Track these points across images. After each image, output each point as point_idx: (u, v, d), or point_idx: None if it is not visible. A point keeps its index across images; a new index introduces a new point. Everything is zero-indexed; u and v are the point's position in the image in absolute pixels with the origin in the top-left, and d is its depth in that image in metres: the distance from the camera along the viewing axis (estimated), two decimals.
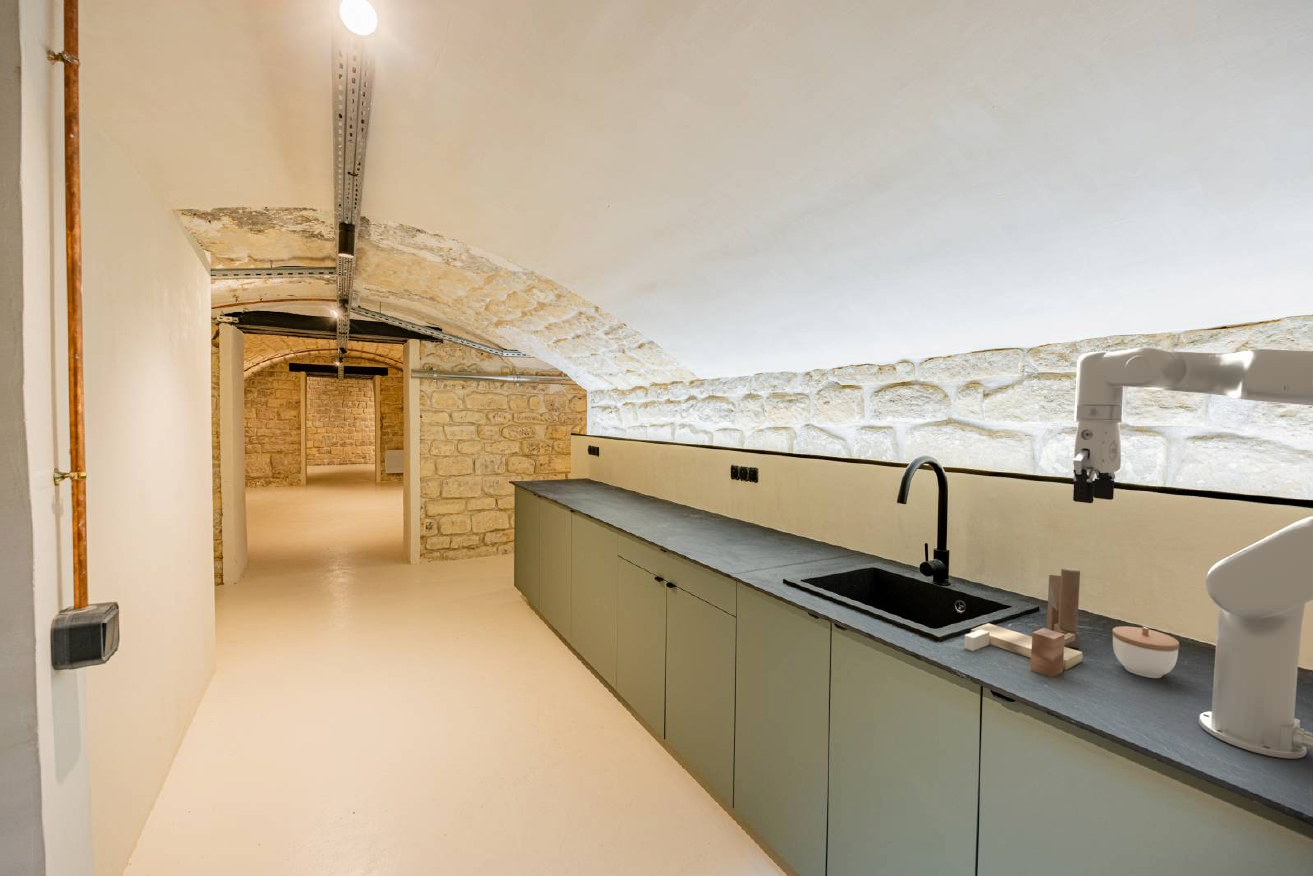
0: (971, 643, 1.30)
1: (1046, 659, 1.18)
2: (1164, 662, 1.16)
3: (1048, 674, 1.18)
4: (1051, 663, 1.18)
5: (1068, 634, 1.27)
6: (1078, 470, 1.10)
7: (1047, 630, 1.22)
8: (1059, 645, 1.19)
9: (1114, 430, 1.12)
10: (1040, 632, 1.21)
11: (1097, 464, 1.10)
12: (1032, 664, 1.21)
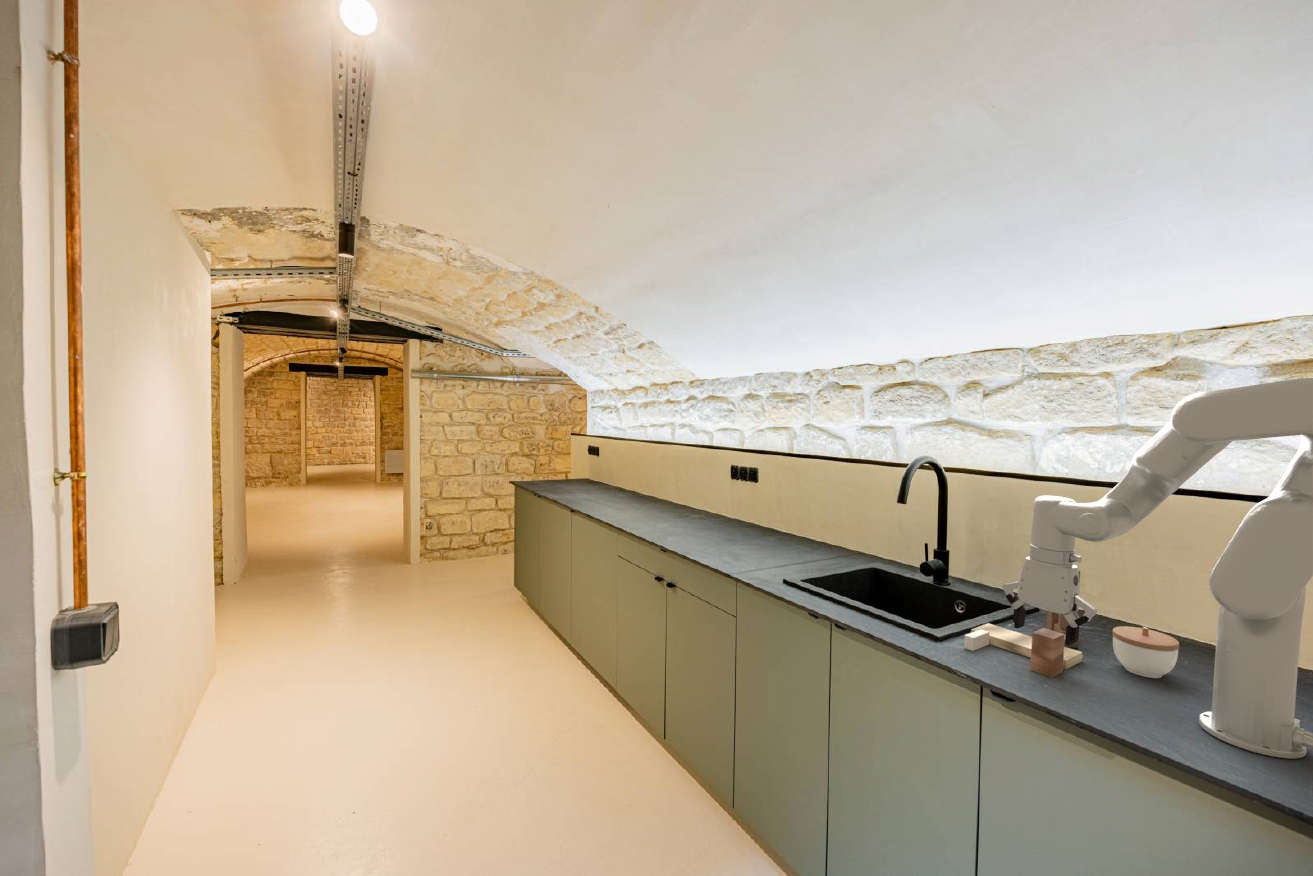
0: (971, 643, 1.30)
1: (1046, 659, 1.18)
2: (1164, 662, 1.16)
3: (1048, 674, 1.18)
4: (1051, 663, 1.18)
5: None
6: (1090, 618, 1.14)
7: (1047, 630, 1.22)
8: (1059, 645, 1.19)
9: None
10: (1040, 632, 1.21)
11: (1077, 605, 1.18)
12: (1032, 664, 1.21)
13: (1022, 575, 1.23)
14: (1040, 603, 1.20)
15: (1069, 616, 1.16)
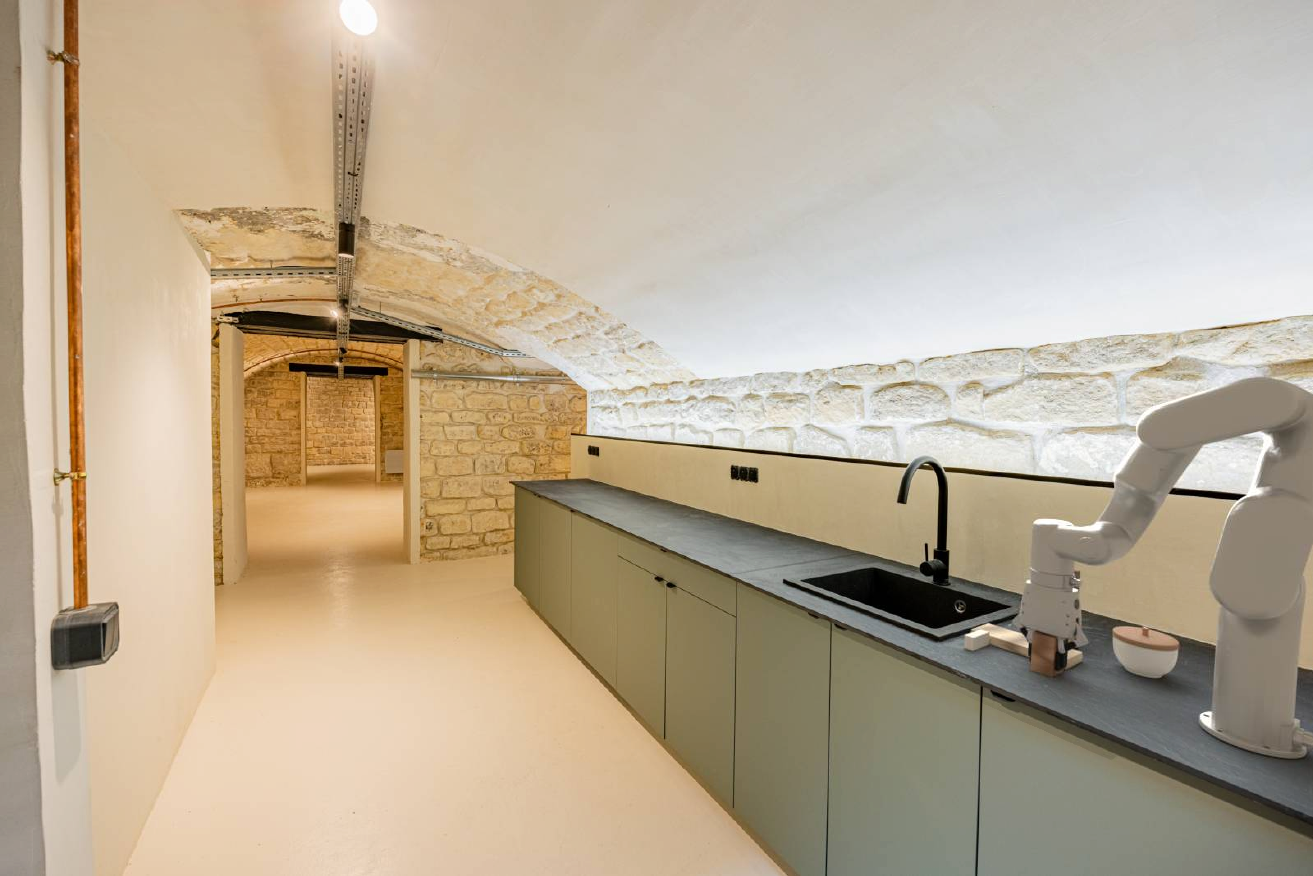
0: (971, 643, 1.30)
1: (1046, 659, 1.18)
2: (1164, 662, 1.16)
3: (1048, 674, 1.18)
4: (1051, 663, 1.18)
5: None
6: (1078, 646, 1.16)
7: None
8: None
9: None
10: (1040, 632, 1.21)
11: None
12: (1032, 664, 1.21)
13: (1023, 599, 1.22)
14: (1042, 627, 1.19)
15: (1061, 642, 1.17)
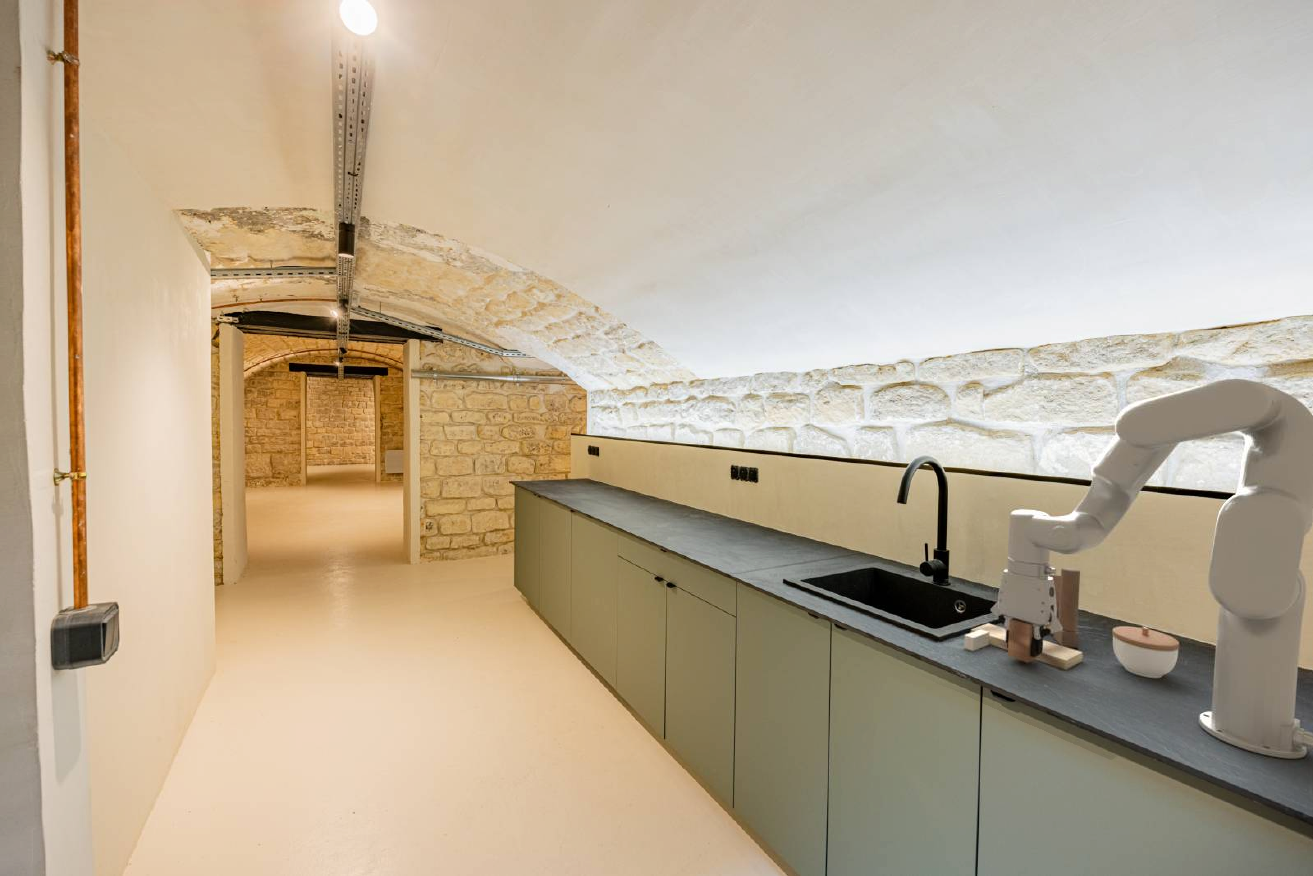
0: (971, 643, 1.30)
1: (1023, 645, 1.22)
2: (1164, 662, 1.16)
3: (1024, 660, 1.22)
4: (1027, 649, 1.21)
5: None
6: (1052, 632, 1.20)
7: None
8: None
9: None
10: (1017, 619, 1.24)
11: None
12: (1009, 650, 1.24)
13: (1001, 587, 1.26)
14: (1019, 615, 1.23)
15: (1037, 629, 1.21)
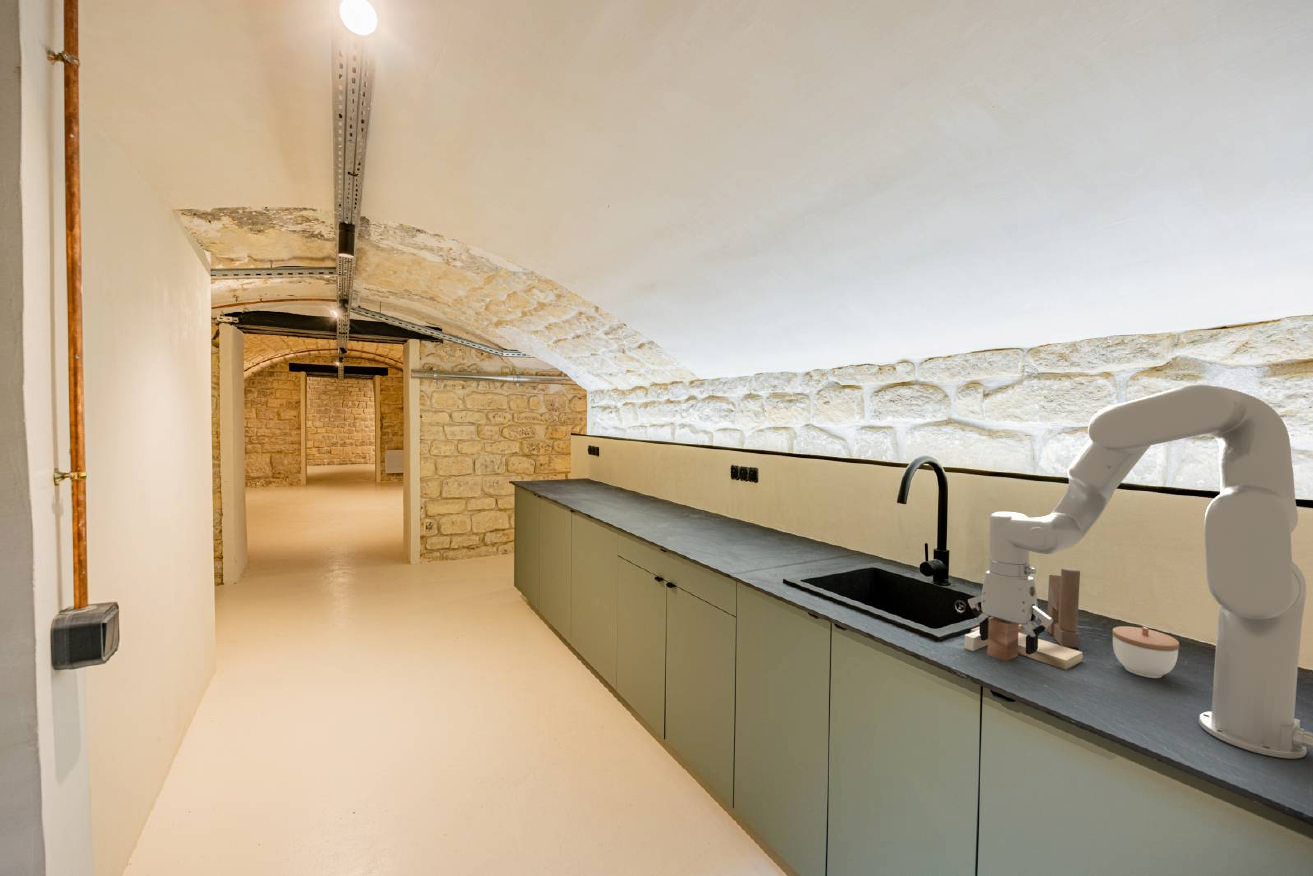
0: (971, 643, 1.30)
1: (1001, 644, 1.26)
2: (1164, 662, 1.16)
3: (1003, 658, 1.26)
4: (1005, 648, 1.25)
5: None
6: (1047, 627, 1.21)
7: None
8: (1013, 631, 1.26)
9: None
10: (996, 619, 1.28)
11: (1036, 615, 1.24)
12: (988, 649, 1.28)
13: (984, 588, 1.29)
14: (1001, 614, 1.26)
15: (1028, 626, 1.22)
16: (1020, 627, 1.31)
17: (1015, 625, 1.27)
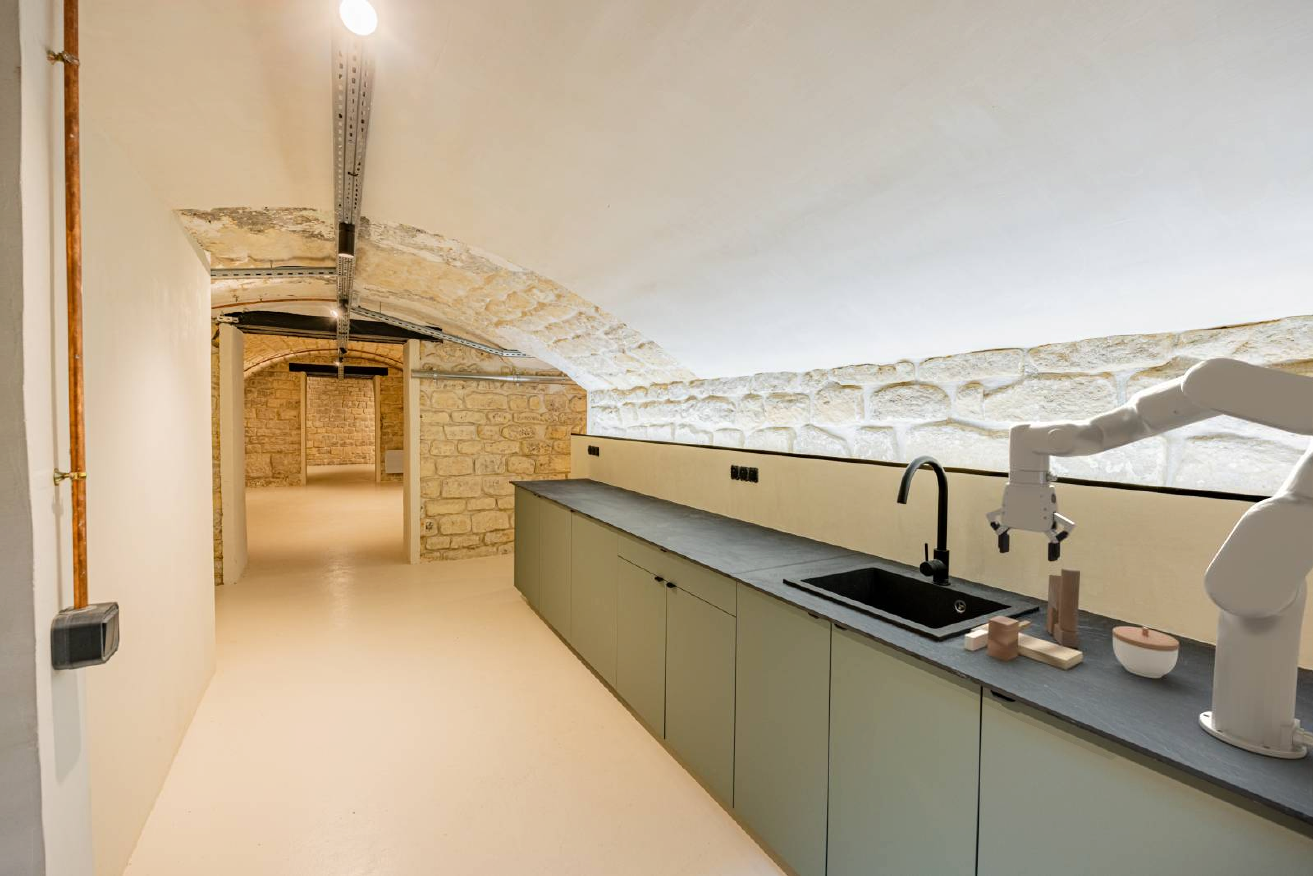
0: (971, 643, 1.30)
1: (1001, 644, 1.26)
2: (1164, 662, 1.16)
3: (1003, 658, 1.26)
4: (1005, 648, 1.25)
5: (1024, 621, 1.34)
6: None
7: (1003, 617, 1.29)
8: (1013, 631, 1.26)
9: None
10: (996, 619, 1.28)
11: None
12: (988, 649, 1.28)
13: (1003, 500, 1.28)
14: (1022, 524, 1.25)
15: (1050, 533, 1.21)
16: (1020, 627, 1.31)
17: (1015, 625, 1.27)
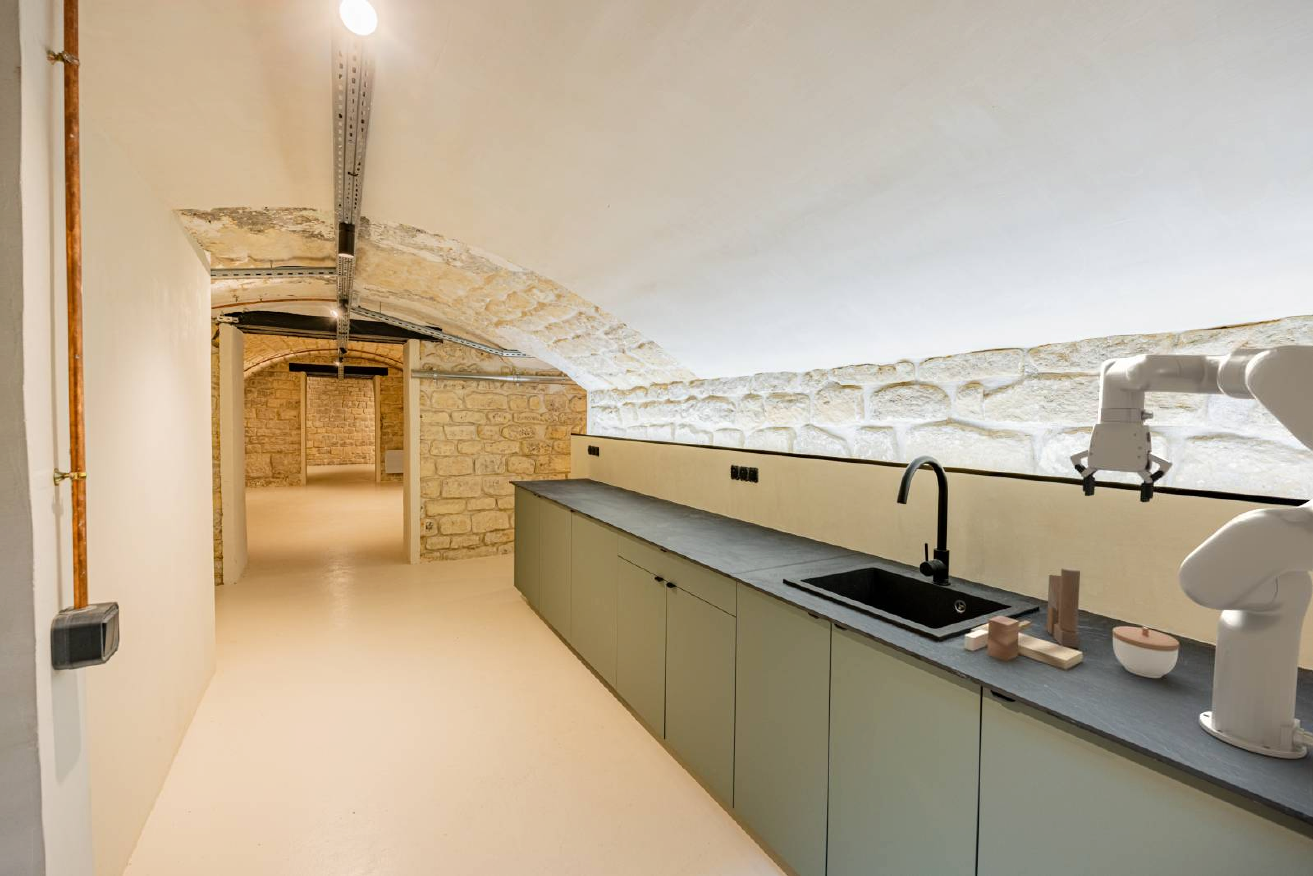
0: (971, 643, 1.30)
1: (1001, 644, 1.26)
2: (1164, 662, 1.16)
3: (1003, 658, 1.26)
4: (1005, 648, 1.25)
5: (1024, 621, 1.34)
6: (1166, 472, 1.15)
7: (1003, 617, 1.29)
8: (1013, 631, 1.26)
9: None
10: (996, 619, 1.28)
11: None
12: (988, 649, 1.28)
13: (1091, 441, 1.23)
14: (1112, 465, 1.20)
15: (1143, 472, 1.16)
16: (1020, 627, 1.31)
17: (1015, 625, 1.27)
